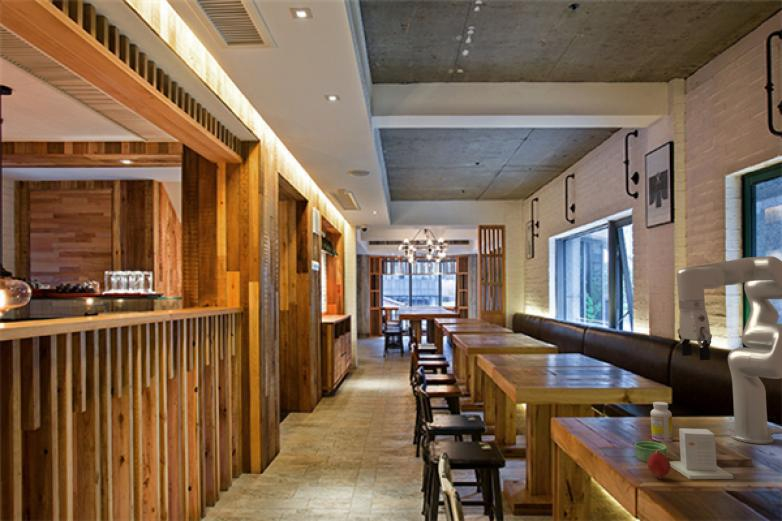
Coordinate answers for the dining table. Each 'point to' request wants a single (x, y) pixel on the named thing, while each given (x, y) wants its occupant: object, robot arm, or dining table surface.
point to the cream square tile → (700, 472)
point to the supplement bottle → (661, 422)
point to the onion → (658, 464)
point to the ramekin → (648, 449)
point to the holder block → (723, 455)
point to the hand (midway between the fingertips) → (695, 357)
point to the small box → (697, 449)
